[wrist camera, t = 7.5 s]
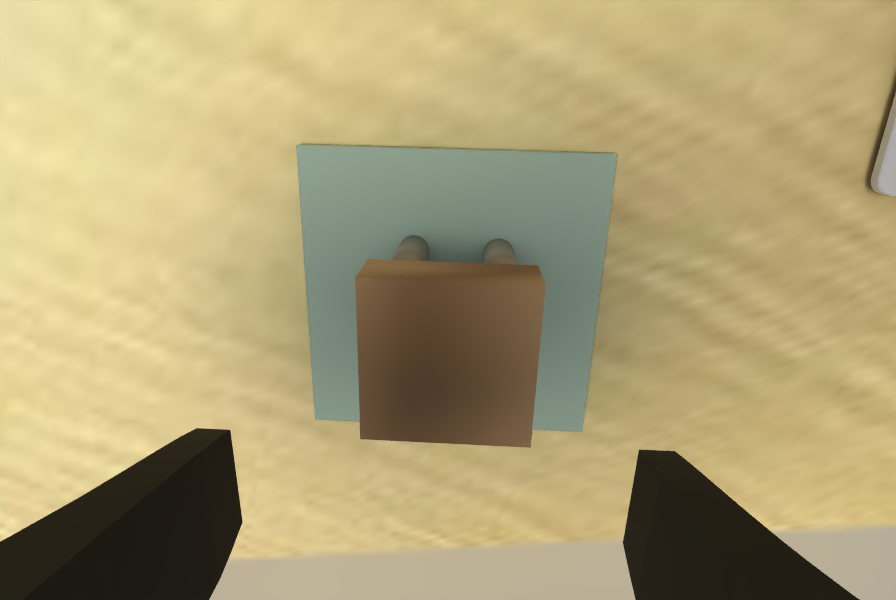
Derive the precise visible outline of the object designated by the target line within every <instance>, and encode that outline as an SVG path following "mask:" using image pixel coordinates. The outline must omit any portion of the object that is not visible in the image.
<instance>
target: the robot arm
mask: <svg viewBox="0 0 896 600" xmlns="http://www.w3.org/2000/svg"><path fill="white" fill-rule="evenodd" d="M871 186H872V189H873V190H874V191H876V192H877V193H880V194H884V195H889V196H896V93H895V97H894V100H893V104H892V107H891V111H890V114H889V118H888V121H887V124H886V128H885V131H884V135H883V138H882V142H881V145H880V149H879V152H878V156H877V159H876V163H875V166H874V170H873V173H872V177H871ZM241 525H242V515H241V508H240V500H239V493H238V485H237V478H236V470H235V462H234V455H233V447H232V440H231V432H230V430H220V429H200V428H197V429H195V430H193V431H191V432H189V433H187V434H185V435H183V436H181V437H179V438H178V439H176V440H174V441H173V442H171V443H169V444H167V445H166V446H164V447H162V448H161V449H159V450H157V451H156V452H154V453H152V454H151V455H149V456H147V457H146V458H144V459H143V460H141V461H139V462H138V463H136V464H134V465H133V466H131V467H129V468H128V469H126V470H124V471H123V472H121V473H119V474H118V475H116V476H114V477H113V478H111V479H109V480H108V481H106V482H104V483H103V484H101V485H99V486H98V487H96V488H95V489H93V490H91V491H90V492H88V493H86V494H85V495H83V496H81V497H79V498H78V499H76V500H74V501H72V502H71V503H69V504H67V505H65V506H63V507H62V508H60V509H58V510H56V511H55V512H53V513H51V514H49V515H47V516H46V517H44V518H42V519H40V520H39V521H37V522H35V523H33V524H31V525H30V526H28V527H26V528H24V529H22V530H21V531H19V532H17V533H15V534H14V535H12V536H10V537H8V538H6V539H5V540H3V541H1V542H0V600H209V599H210V597H211V595H212V593H213V591H214V589H215V587H216V585H217V583H218V581H219V579H220V577H221V575H222V573H223V570H224V568H225V566H226V563H227V561H228V558H229V556H230V553H231V551H232V548H233V546H234V543H235V540H236V538H237V535H238V532H239V530H240V527H241ZM623 545H624V550H625V554H626V559H627V564H628V568H629V573H630V577H631V582H632V586H633V590H634V594H635V599H636V600H859V599H858V598H856V597H855V596H853V595H852V594H851V593H849V592H848V591H847V590H845V589H844V588H843V587H841V586H840V585H839V584H837V583H836V582H835V581H833V580H832V579H831V578H829V577H828V576H827V575H825V574H824V573H823V572H821V571H820V570H819V569H817V568H816V567H815V566H813V565H812V564H811V563H810V562H808V561H807V560H806V559H804V558H803V557H802V556H801V555H799V554H798V553H797V552H796V551H794V550H793V549H792V548H790V547H789V546H788V545H787V544H785V543H784V542H783V541H782V540H780V539H779V538H778V537H777V536H776V535H774V534H773V533H772V532H771V531H769V530H768V529H767V528H766V527H765V526H763V525H762V524H761V523H760V522H759V521H757V520H756V519H755V518H754V517H752V516H751V515H750V514H749V513H748V512H747V511H745V510H744V509H743V508H742V507H741V506H739V505H738V504H737V503H736V502H735V501H734V500H732V499H731V498H730V497H729V496H728V495H727V494H725V493H724V492H723V491H722V490H721V489H720V488H718V487H717V486H716V485H715V484H714V483H713V482H711V481H710V480H709V479H708V478H707V477H706V476H704V475H703V474H702V473H701V472H700V471H699V470H697V469H696V468H695V467H694V466H693V465H691V464H690V463H689V462H688V461H687V460H685V459H684V458H683V457H682V456H680V455H679V454H678V453H676V452H675V451H656V450H639V453H638V459H637V465H636V471H635V476H634V482H633V488H632V494H631V500H630V505H629V511H628V517H627V523H626V528H625V534H624V540H623Z"/></svg>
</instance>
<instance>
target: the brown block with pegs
mask: <svg viewBox="0 0 896 600" xmlns="http://www.w3.org/2000/svg"><path fill="white" fill-rule="evenodd" d="M428 255H429V246H428V244H427V242H426V241H425V240H424V239H423V238H422V237H420V236H416V235H411V236H408V237H406V238H404V239H403V240H402V242H401V244H400V245H399V247H398V249H397V251H396V253H395V255H394V257H393V259H392V260H387V259H367V261H366V262H365V264H364V265H363V267H362V268H361V270H360V271H359V273H358V274H357V276H356V277H355V290H356V320H357V351H358V381H359V411H360V439H370V440H390V441H410V442H430V443H450V444H471V445H491V446H511V447H531V437H532V427H533V416H534V405H535V395H536V384H537V373H538V363H539V352H540V342H541V331H542V320H543V310H544V299H545V289H546V284H545V282H544V279H543V277H542V274H541V272H540V269H539V266H538V265H517V262H516V258H515V254H514V250H513V247H512V245H511V244H510V243H509V242H508V241H506V240H504V239H500V238H499V239H493V240H491V241H490V242H488V243H487V244H486V246H485V248H484V252H483V256H484V263H464V262H438V261H427V258H428Z"/></svg>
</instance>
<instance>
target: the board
mask: <svg viewBox="0 0 896 600" xmlns="http://www.w3.org/2000/svg"><path fill="white" fill-rule="evenodd" d="M296 146H297V161H298V175H299V190H300V204H301V219H302V233H303V248H304V262H305V277H306V291H307V306H308V320H309V335H310V349H311V364H312V378H313V392H314V407H315V420H334V421H355V422H360V411H359V381H358V351H357V320H356V290H355V277H356V276H357V274H358V273H359V271H360V270H361V268H362V267H363V265H364V264H365V262H366V261H367V259H387V260H392V259H393V257H394V255H395V253H396V251H397V249H398V247H399V245H400V244H401V242H402V240H403V239H404V238H406V237H408V236H411V235H416V236H420V237H422V238H423V239H424V240H425V241H426V242H427V244H428V246H429V255H428V258H427V261H438V262H464V263H484V256H483V252H484V248H485V246H486V244H487V243H488V242H490V241H491V240H493V239H499V238H500V239H504V240H506V241H508V242H509V243H510V244H511V245H512V247H513V250H514V254H515V258H516V262H517V265H538V266H539V269H540V272H541V274H542V277H543V279H544V282H545V284H546V289H545V299H544V310H543V320H542V331H541V342H540V352H539V363H538V373H537V384H536V395H535V405H534V416H533V427H532V430H550V431H572V432H582V429H583V421H584V413H585V405H586V398H587V390H588V382H589V374H590V366H591V359H592V351H593V343H594V335H595V327H596V319H597V312H598V304H599V296H600V288H601V280H602V273H603V265H604V257H605V249H606V241H607V233H608V226H609V218H610V210H611V202H612V194H613V187H614V179H615V171H616V163H617V154H615V153H603V152H569V151H534V150H500V149H465V148H431V147H397V146H362V145H328V144H299V145H296Z"/></svg>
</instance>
